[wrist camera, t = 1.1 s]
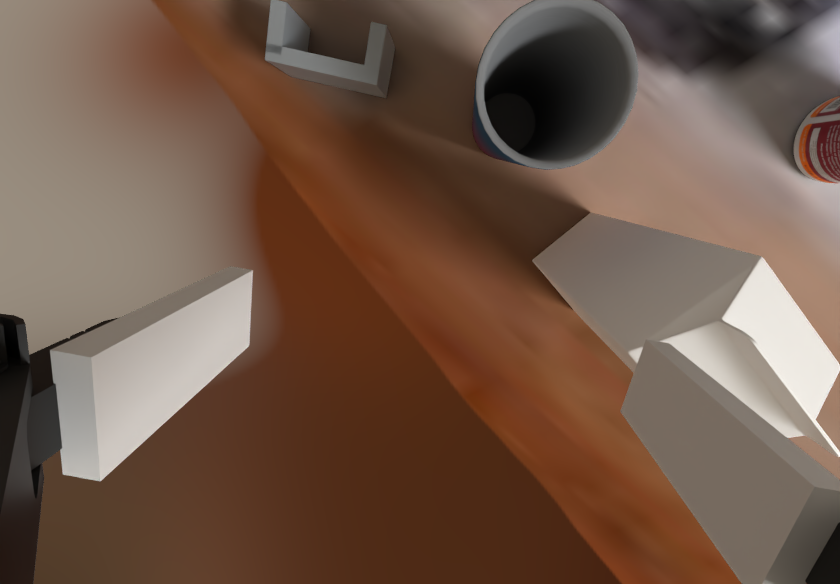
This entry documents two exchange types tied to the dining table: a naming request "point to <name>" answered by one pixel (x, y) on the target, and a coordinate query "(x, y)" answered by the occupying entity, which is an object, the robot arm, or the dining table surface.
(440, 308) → the dining table surface
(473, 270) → the dining table surface
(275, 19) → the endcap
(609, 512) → the dining table surface
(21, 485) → the robot arm
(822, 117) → the pill bottle
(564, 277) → the milk
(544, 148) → the cup
